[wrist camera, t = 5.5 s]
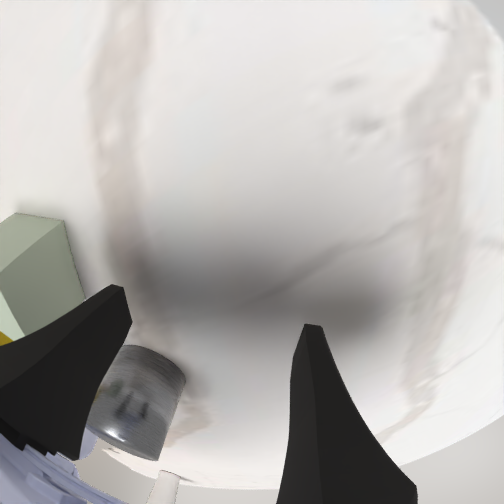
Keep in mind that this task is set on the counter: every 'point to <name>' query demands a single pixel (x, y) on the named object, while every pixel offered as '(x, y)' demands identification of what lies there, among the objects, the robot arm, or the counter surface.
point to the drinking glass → (164, 489)
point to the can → (136, 402)
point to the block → (35, 274)
